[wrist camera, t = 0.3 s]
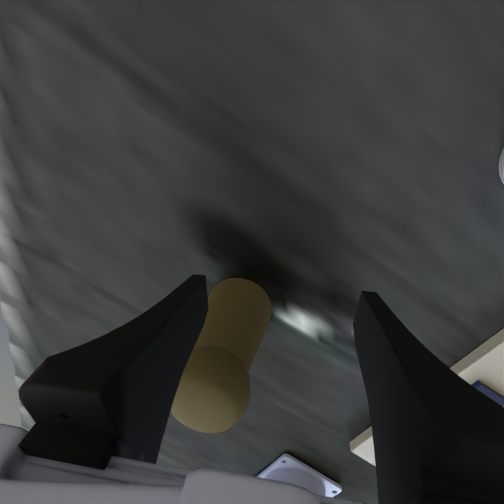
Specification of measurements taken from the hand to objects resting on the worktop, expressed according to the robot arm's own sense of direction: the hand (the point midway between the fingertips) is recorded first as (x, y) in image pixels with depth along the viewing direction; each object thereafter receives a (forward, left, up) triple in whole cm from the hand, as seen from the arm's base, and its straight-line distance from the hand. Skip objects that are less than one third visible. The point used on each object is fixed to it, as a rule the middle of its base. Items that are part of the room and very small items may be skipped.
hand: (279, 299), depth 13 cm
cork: (-9, 0, -11) cm, 13 cm away
